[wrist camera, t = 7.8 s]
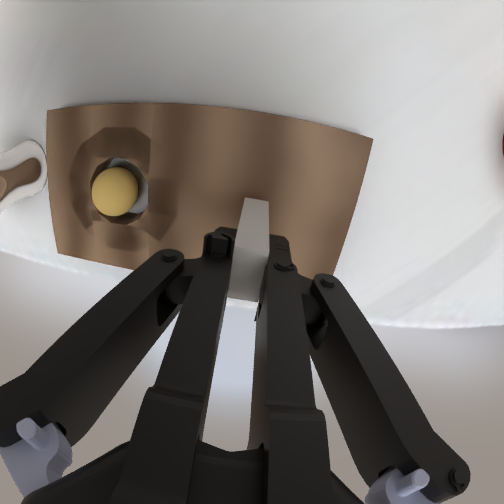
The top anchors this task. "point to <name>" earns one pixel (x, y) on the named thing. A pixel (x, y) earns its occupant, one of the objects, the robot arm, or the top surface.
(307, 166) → the board
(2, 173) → the beer glass
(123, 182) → the ball
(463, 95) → the top surface
